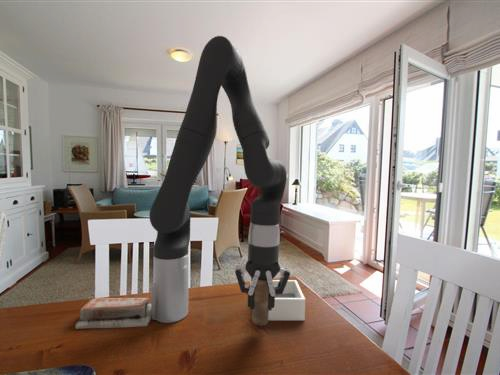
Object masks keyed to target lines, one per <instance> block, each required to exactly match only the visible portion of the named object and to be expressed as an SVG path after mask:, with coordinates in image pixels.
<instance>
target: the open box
mask: <svg viewBox="0 0 500 375" xmlns="http://www.w3.org/2000/svg"><path fill="white" fill-rule="evenodd" d="M279 281H280V279H273V285H274V287H277V286H278V283H279ZM305 318H306V297H305V295H304V294H303V292H302V289H301V287H300V285H299V283H298V281H297V280H296V279H288V281H287V284H286V286H285V289H284V291H283V293H282V294H277V295H275V304H274V308H272V310H269V313H268V321H305Z"/></svg>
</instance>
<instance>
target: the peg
mask: <svg viewBox="0 0 500 375" xmlns="http://www.w3.org/2000/svg"><path fill="white" fill-rule="evenodd" d="M269 293H270V290H269V285H268V281H267V280H258V281H257V284H256V287H255V289H254V292H253V295H254V299H253V310H252V315H251V321H252V323H253V324H254V325H256V326H266V325H267V324H268V323H269V320H268V313H269Z"/></svg>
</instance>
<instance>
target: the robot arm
mask: <svg viewBox="0 0 500 375" xmlns="http://www.w3.org/2000/svg"><path fill="white" fill-rule="evenodd" d="M199 57H200V58H199V61H198V66H197V70H196V75H195V80H194V82H193V87H192V91H191V95H190V98H189V100H188V104H187V107H186V109H185V114H184V116H183V119H182V122H181V125H180V127H179V130H178V132H177V135H176V139H175V143H174V145H173V149H172V152H171V155H170V157H169V158H170V159H169V162H168V165H167V169H166V173H165V175H164V179H163V181H162V183H161V186H160V188H159V190H158V192H157V194H156V196H155V198H154V200H153V201H152V202H153V203H152V205H151V207H150V210H149V222H150V224H151V227H152V228H153V229H154V230H155V231H156V234H157V235H156V237H155V242H154V244H153V248H152V249H153V282H152V283H151V286H150V294H151V295H150V299H151V300H150V302H151V303H150V304H151V320H155V321H157V322H159V323H165V324H172V323H177V322H179V321H181V320H183V319H184V318H186V316H188V314H189V246H190V242H191V241H190V240H191V209H190V208H191V207H190V204H189V203H188V202H189V198H190V194H191V191H192V188H193V186H194V184H195V182H196V180H197V179H198V176H199V174H200V173H201V172H202V170H203V168H204V165H205V164H206V162H207V160H208V157H209V156H210V153H211V150H212V147H213V144H214V142H215V139H216V136H217V128H218V108H217V107H218V99H219V94H220V90H221V88H222V89H223V91H224V92H225V94H226V97H227V99H228V101H229V103H230V109H231V117H232V123H233V127H234V131H235V133H236V136H237V139H238V142H239V144H240V147H241V149H242V159H243V168H244V173H245V177H246V178H247V180H248V182H249V183H250V185H251V186H253V187H254V188H256V189H259V192H258V193H259V194H258V196H257V197H256V198H254V199H252V202H251V206H250V220H249V221H250V223H249V229H248V246H247V261H246V263H245V265H242V266H239V265H236V267H235V269H234V270H235V271H234V273H235V276H236V280H237V283H238V286H239V289H240V292H241V293H243V294H244V293H245V294H246V295H247V307H248V308H249V310H252V311H253V299H254V295H253V292H254V289H255V287H256V284H257V281H258V280H267V281H268V285H269V290H270V293H269V310H272V308H274V304H275V295H277V294H282V293H283V291H284V289H285V286H286V284H287V281H288V280H290V279H289V278H290V276H291V272H290V269H289V268H288V267H285V268H284V267H281V266H280V264H279V258H280V257H279V256H280V254H279V252H280V236H281V235H280V232H281V230H280V217H281V216H280V215H281V214H280V213H281V208H280V207H281V204H282V200H283V197H284V193H285V189H286V185H287V178H288V177H287V169H286V167H285V165H284V163H283V162H282V161H281V160H278V159H276V158H275V159H272V158H269V157H268V156H269V155H268V153H267V149H268V148H269V146H270V138H269V136H268V133H267V131H266V128H265V125H264V123H263V120H262V118H261V116H260V113H259V110H258V108H257V106H256V104H255V100H254V99H253V95H252V93H251V88H250V85H249V80H248V76H247V72H246V71H247V70H246V66H245V62H244V59H243V56H242V55H241V53H240V52H239V51H238V49H237V48H236V47H235V45H234V44H233V42H232V41H231V40H230V39H228V38H227V37H226V36H223V35H216V36H214V37H211V39H209V40H208V41H207V43H206V44H205V45H204V47H203V49H202V52H201V53H200V56H199ZM246 272H247V273H248V275H249V277H250V281H249V284H248V285H247V284H246V281H245V278H244V276H245V273H246ZM278 273H279V275H280V278H279V280H280V281H279V283H278V286H277V287H274V285H273V280H274V278H275V277H277V275H278Z"/></svg>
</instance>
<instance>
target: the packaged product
mask: <svg viewBox="0 0 500 375" xmlns="http://www.w3.org/2000/svg"><path fill="white" fill-rule="evenodd" d="M149 302H150V298H149V297H117V298H116V297H110V298H109V297H101V298H97V297H95V298H92V299H90V300H89V301H88V302H87V303H86V304H84V306H83V307H81V309H80V310H79V320H78V321H77V322H76V323H75V329H76V330H77V329H109V328H110V329H111V328H114V329H115V328H117V329H118V328H130V327H131V328H134V327H135V328H136V327H148V326H149V324H150V321H151V320H152V319H151V303H149Z"/></svg>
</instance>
